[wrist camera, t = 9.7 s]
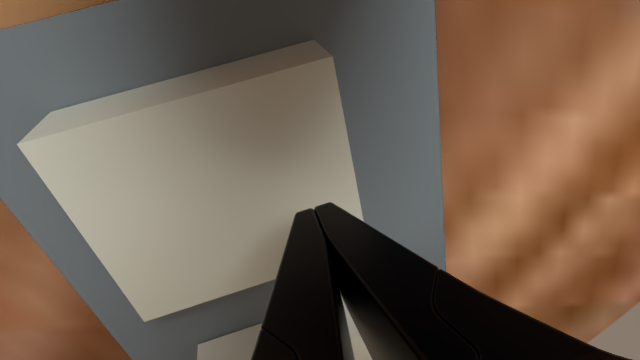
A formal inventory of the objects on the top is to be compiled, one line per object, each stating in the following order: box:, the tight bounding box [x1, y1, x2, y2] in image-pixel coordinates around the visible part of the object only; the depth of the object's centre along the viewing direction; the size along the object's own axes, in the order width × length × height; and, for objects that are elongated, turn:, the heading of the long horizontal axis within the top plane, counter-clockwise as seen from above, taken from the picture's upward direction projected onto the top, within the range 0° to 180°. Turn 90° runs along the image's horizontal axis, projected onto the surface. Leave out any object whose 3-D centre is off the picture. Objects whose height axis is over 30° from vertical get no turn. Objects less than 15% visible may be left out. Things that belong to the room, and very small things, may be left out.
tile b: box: [17, 40, 364, 322], centre depth 11 cm, size 6×2×7 cm
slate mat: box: [0, 0, 446, 360], centre depth 14 cm, size 19×13×1 cm
